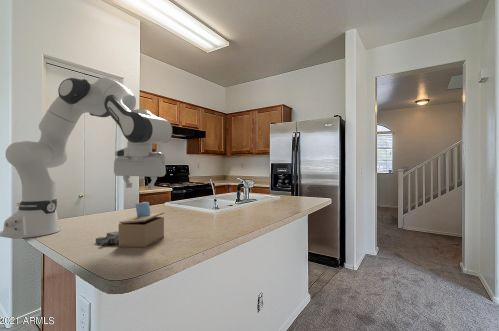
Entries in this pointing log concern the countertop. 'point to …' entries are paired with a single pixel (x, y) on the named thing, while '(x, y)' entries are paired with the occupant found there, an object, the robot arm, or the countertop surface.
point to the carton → (141, 232)
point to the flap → (141, 218)
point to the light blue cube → (143, 209)
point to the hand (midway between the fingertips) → (140, 187)
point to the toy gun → (109, 238)
